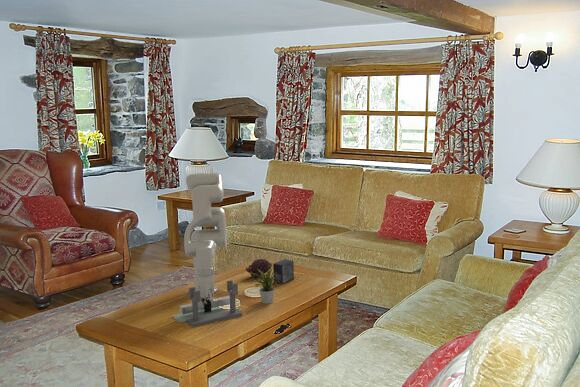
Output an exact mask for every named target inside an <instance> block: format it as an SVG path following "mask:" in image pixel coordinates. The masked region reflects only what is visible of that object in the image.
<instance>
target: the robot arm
mask: <svg viewBox="0 0 580 387" xmlns="http://www.w3.org/2000/svg"><path fill="white" fill-rule="evenodd" d="M185 184H186V187H187V190H188V192H189V194H190V196H191V202H192V220H191V221H190V222H189V223H188V225H187V226H186V228H185V232H184V236H183V237H184V239H183V242H184V253H185V255H186V257H188V258H193V273H194V274H193V276H194V287H195V291H197V290H199V291H200V302H201V301H205V304H204V312H205V313H206V312H211V303H212V302H211V301H213V299H214V298H213V297H215V296H214V295H215V293H216V292H217V291H218V288H217V286H215V283H214V278H215V277H214V255H215V253H216V252H217V249H220V248H222V249H223V248H224V247H226V245H227V219H226V212H225V209H224V208H222V207H219V206H212V203H221V202H223V200H224V192H225V191H224V181H223V177H222V175H221V174H220V173H218V172H208V173H207V172H206V173H203V172H202V173H192V174H189V175H188V174H187V175H186V178H185ZM197 227H198V228H205V229H196V230H195V228H197ZM209 227H216V228H209ZM193 230H194V231H193Z"/></svg>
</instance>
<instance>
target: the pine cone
mask: <svg viewBox="0 0 580 387" xmlns="http://www.w3.org/2000/svg"><path fill="white" fill-rule="evenodd" d="M271 268H273V263H271V262H269V260H267V259H265V258H257V259H254V260H253V261H252V263H251V264H248V267H245V271H246V272H247V273H249V274H250V276H251V277H253V278H257V279H258V278H259V279H260V277H262V275H261V273H260V271H261V272H263V273H264V275H265V274H267V272H268V270H269V271H270V269H271ZM257 269H258V270H257ZM259 270H260V271H259ZM256 274H257V275H256ZM258 275H259V276H260V277H259V276H258Z"/></svg>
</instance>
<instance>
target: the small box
mask: <svg viewBox="0 0 580 387" xmlns="http://www.w3.org/2000/svg"><path fill="white" fill-rule="evenodd" d="M294 263H295V262H294V260H293V259H287V258H284V259H281V260H279V261H276V262H274V263H272V272H273V270H274V272H273V275H274V273H275V275H274V277H275V276H276V277H275V278H274V277H273V278H274V279H273V283H274V282H275V283H274V284H280V285H284V284H286V283H288V282H291V281H292V280H295V272H294V271H295V269H294V268H295V266H294ZM273 275H272V276H273ZM276 281H279V282H276Z"/></svg>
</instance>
